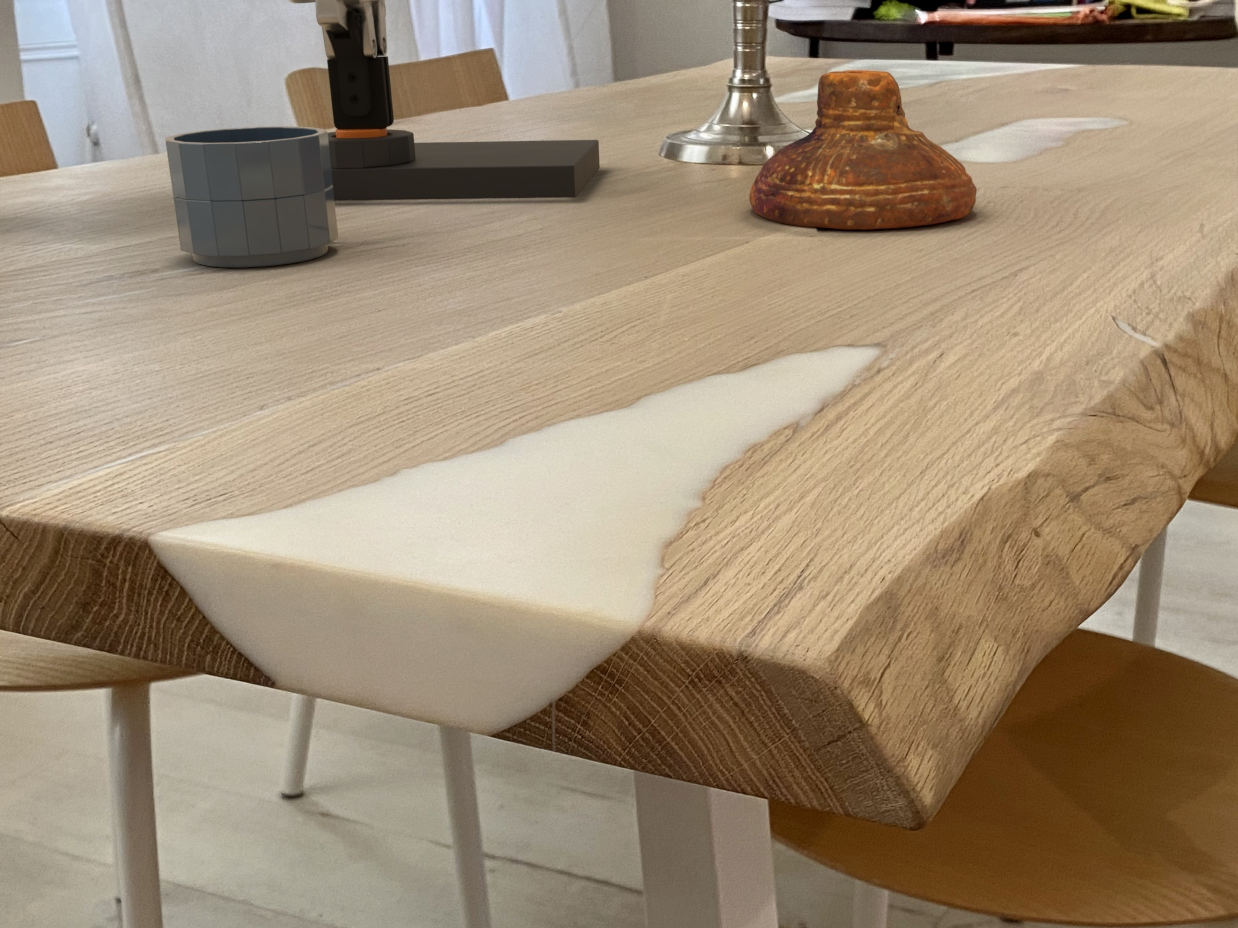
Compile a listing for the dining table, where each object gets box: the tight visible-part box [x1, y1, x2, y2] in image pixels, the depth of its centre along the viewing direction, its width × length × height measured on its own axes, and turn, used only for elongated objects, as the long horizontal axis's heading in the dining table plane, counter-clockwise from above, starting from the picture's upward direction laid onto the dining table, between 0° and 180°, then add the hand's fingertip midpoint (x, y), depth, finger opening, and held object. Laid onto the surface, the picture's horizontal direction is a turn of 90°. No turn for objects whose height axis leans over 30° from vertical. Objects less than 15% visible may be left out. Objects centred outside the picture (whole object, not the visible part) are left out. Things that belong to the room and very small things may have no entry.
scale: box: [327, 128, 601, 202], centre depth 89 cm, size 16×13×4 cm
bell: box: [748, 69, 978, 230], centre depth 75 cm, size 12×12×7 cm
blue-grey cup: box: [164, 125, 339, 269], centre depth 68 cm, size 7×7×6 cm
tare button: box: [335, 127, 388, 138], centre depth 86 cm, size 3×3×2 cm
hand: (364, 127), depth 86 cm, fingers closed
